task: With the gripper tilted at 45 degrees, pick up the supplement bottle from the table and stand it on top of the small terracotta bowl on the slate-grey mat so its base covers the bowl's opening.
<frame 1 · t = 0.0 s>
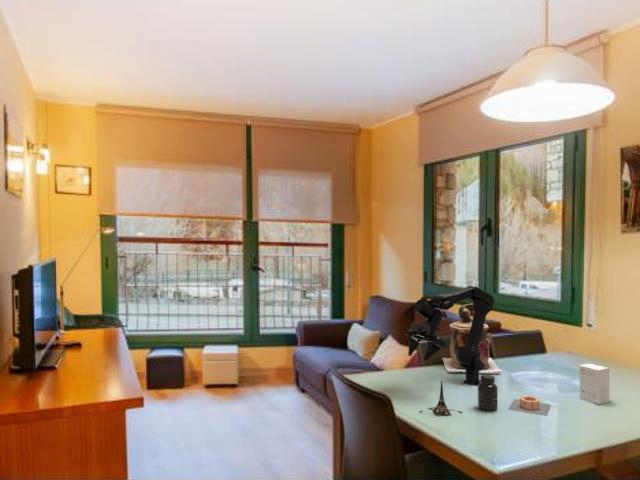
hand: (416, 357, 192), 15 cm above the table, tool tilted 35°, fingers open, 9 cm apart
eiffel tower figurine: (442, 415, 172), on the table
supplement bottle: (487, 409, 175), on the table
cookie jar: (470, 368, 232), on the table
small box: (594, 400, 183), on the table
slate mat: (529, 407, 176), on the table
terracotta bowl: (529, 407, 176), resting on slate mat
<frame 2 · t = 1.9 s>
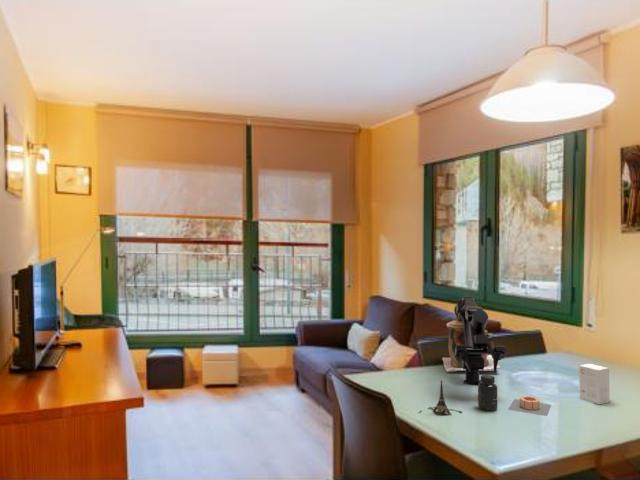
hand: (482, 371, 183), 12 cm above the table, tool tilted 40°, fingers open, 9 cm apart
cookie jar: (469, 366, 232), point 1 cm above the table, touching arm
everything else where it was.
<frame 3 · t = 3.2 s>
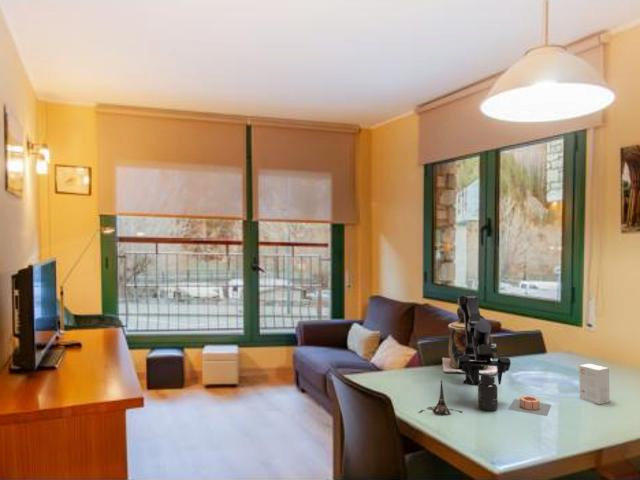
hand: (486, 383, 177), 9 cm above the table, tool tilted 45°, fingers open, 9 cm apart
cookie jar: (468, 368, 231), on the table
everything else where it was.
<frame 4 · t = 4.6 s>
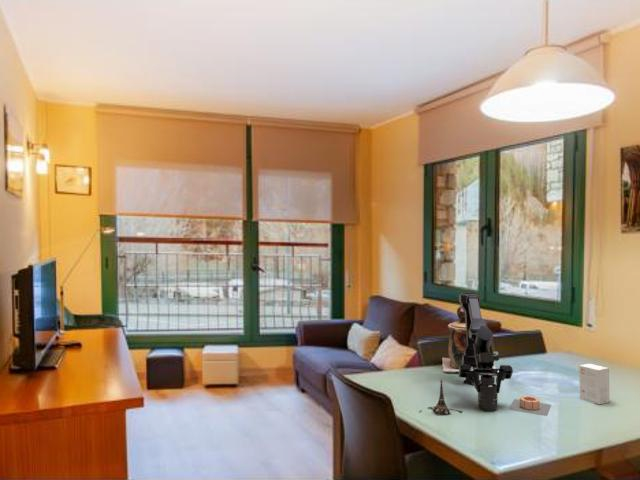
hand: (488, 392, 174), 7 cm above the table, tool tilted 45°, fingers closed on supplement bottle, 7 cm apart
supplement bottle: (487, 409, 175), on the table, touching gripper
everything else where it was.
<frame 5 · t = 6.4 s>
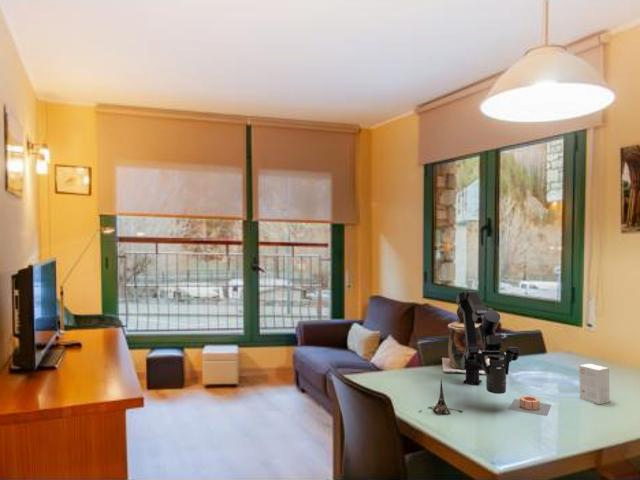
hand: (497, 374, 174), 13 cm above the table, tool tilted 45°, fingers closed on supplement bottle, 7 cm apart
supplement bottle: (496, 391, 175), point 6 cm above the table, touching gripper
everything else where it was.
when the fingers open (11 cm above the table, at t = 8.4 s): supplement bottle drops 1 cm, resting on terracotta bowl.
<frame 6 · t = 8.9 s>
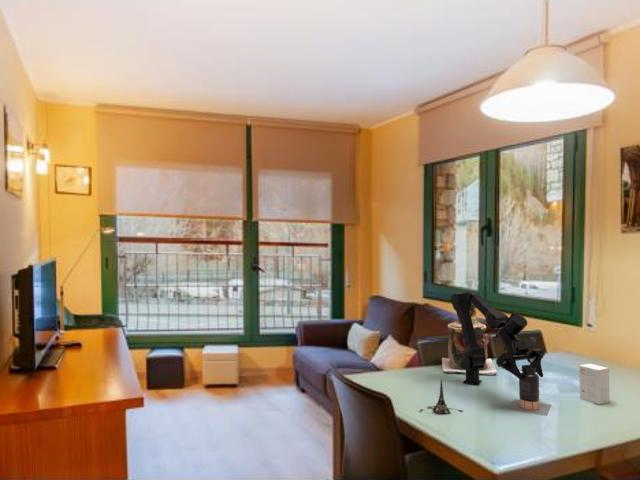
hand: (532, 378, 175), 11 cm above the table, tool tilted 45°, fingers open, 9 cm apart
supplement bottle: (529, 399, 176), point 3 cm above the table, touching terracotta bowl
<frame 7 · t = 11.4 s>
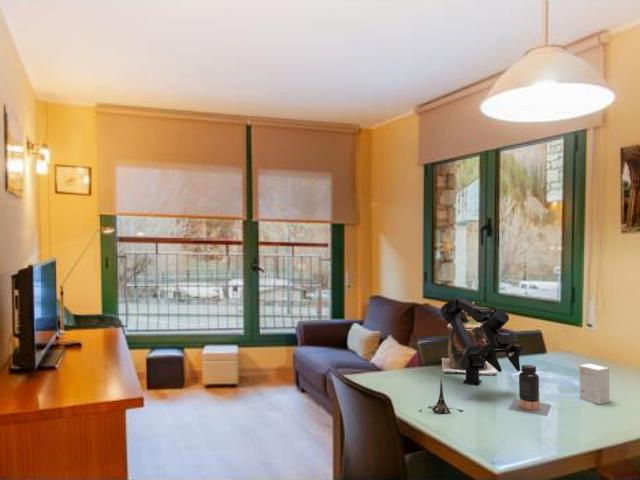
hand: (510, 371, 184), 11 cm above the table, tool tilted 40°, fingers open, 9 cm apart
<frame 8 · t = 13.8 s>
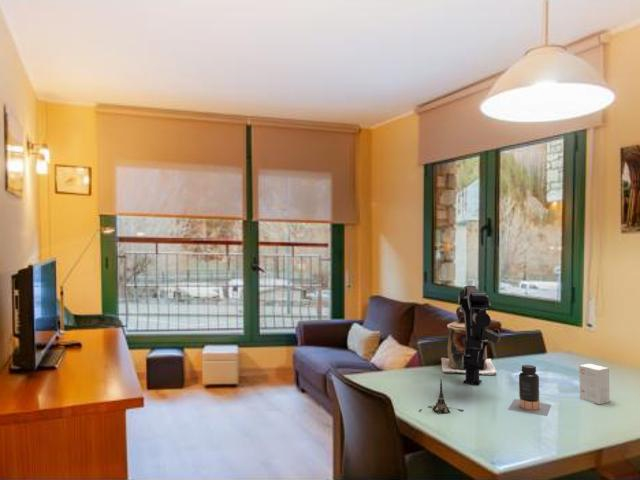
hand: (478, 361, 193), 13 cm above the table, tool pointing down, fingers open, 9 cm apart
at the end: supplement bottle 0.2 cm from the terracotta bowl (horizontally); supplement bottle point 3.1 cm above the table; supplement bottle tilted 0° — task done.
